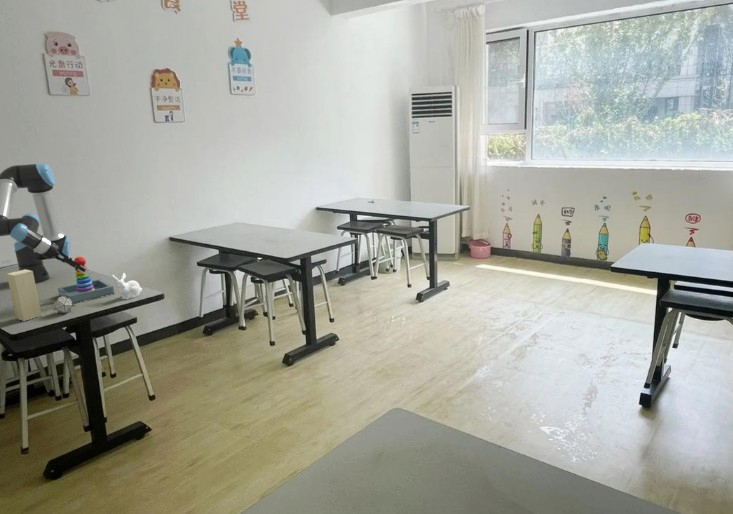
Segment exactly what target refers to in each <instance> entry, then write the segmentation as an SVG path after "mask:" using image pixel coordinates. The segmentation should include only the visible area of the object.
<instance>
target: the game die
mask: <svg viewBox="0 0 733 514" xmlns="http://www.w3.org/2000/svg"><path fill="white" fill-rule="evenodd" d="M60 296H61V297H60ZM60 296H59V297H58V298H55V301H54V302H52V303H51V304H52V305H53V306H54V307H53V308H54V309H53V311H57V314H60V313H62V314H64V315H65V314H66V315H67V312H69V311H72V310H71V309H72V308H73V307H75V306H76V305H75V304H72V301H71V300H73V299H71V300H70V299H69V298H68V297H69V296H67V297H63V296H62V295H60Z"/></svg>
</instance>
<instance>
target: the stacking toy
mask: <svg viewBox="0 0 733 514" xmlns="http://www.w3.org/2000/svg"><path fill="white" fill-rule="evenodd" d="M73 261H74V262H76V263H78V264H80V265H82V266H83V267H85V268H87V269H88V267H87V265H86V262H87V261H86V258H85V257H84V256H77V257H75V258H74V259H73ZM76 266H77V265H76ZM75 275H76V276H75V278H76V280H75V282H76V284H77V294H78V293H83V292H87V291H91V290H95V289H94V288H93V285H92V281H93V280H92V277H90V276H87V275H85V274H84V273H82V272H80V271H79V270H77V271H76V270H75Z"/></svg>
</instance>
